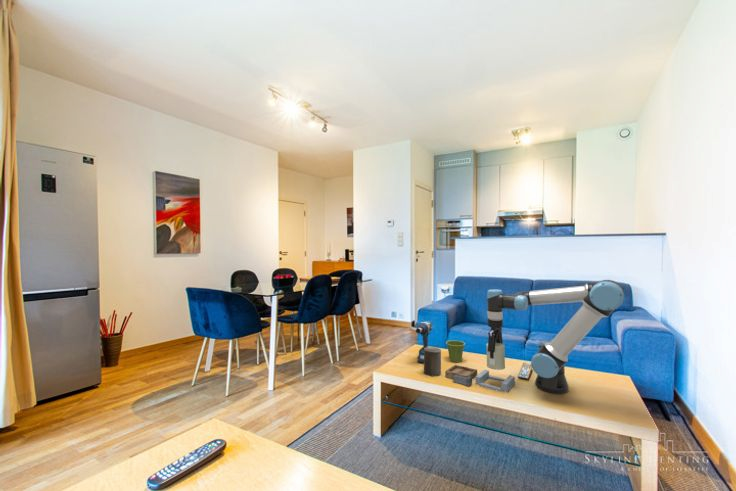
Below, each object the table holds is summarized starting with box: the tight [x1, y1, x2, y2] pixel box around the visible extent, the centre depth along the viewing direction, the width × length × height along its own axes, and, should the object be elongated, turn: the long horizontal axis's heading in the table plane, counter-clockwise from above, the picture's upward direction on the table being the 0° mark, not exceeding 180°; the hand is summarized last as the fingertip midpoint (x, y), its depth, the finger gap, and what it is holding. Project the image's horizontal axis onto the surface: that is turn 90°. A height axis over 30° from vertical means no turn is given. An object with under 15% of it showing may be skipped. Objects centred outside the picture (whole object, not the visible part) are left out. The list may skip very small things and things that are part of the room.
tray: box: [445, 364, 478, 380], centre depth 189 cm, size 13×13×4 cm
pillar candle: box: [423, 346, 442, 377], centre depth 195 cm, size 10×10×15 cm
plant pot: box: [445, 339, 466, 363], centre depth 216 cm, size 12×12×11 cm
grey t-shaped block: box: [452, 374, 473, 387], centre depth 180 cm, size 9×4×4 cm, turn 51°
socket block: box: [474, 369, 516, 393], centre depth 179 cm, size 16×15×4 cm
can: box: [486, 342, 506, 371], centre depth 179 cm, size 9×9×12 cm
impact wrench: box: [415, 320, 434, 364], centre depth 213 cm, size 8×22×25 cm, turn 152°
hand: (495, 361), depth 179 cm, fingers closed on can, 9 cm apart
